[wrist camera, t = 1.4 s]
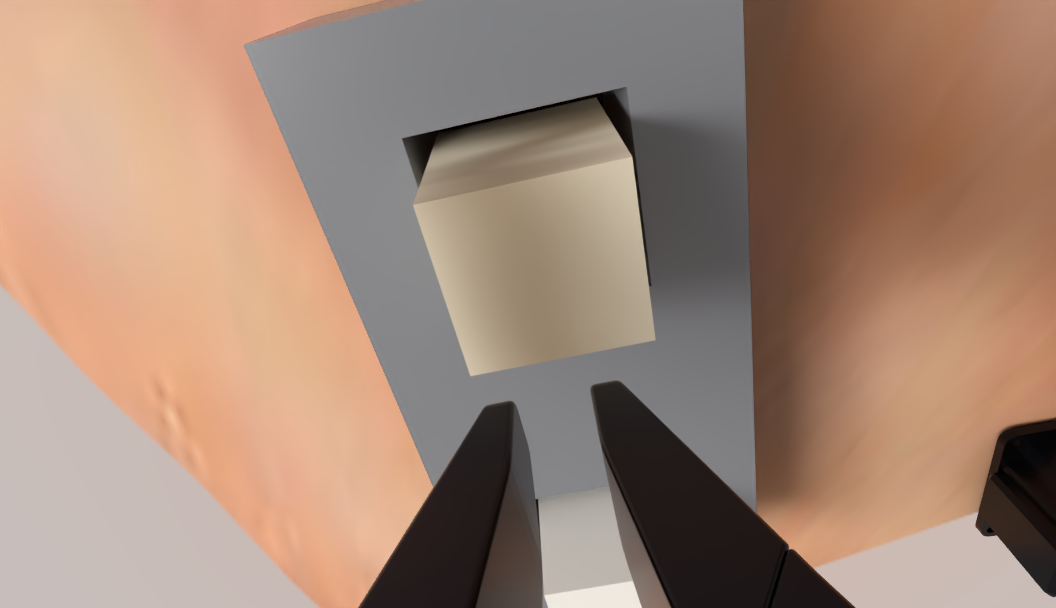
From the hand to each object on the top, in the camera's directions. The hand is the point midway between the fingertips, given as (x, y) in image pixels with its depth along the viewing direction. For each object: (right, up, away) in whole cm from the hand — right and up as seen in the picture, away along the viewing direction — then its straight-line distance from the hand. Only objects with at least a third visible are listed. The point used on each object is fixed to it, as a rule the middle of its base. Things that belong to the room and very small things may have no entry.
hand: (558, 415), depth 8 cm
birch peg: (0, +5, +8) cm, 9 cm away
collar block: (+1, +1, +13) cm, 13 cm away
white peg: (+2, -5, +14) cm, 15 cm away
